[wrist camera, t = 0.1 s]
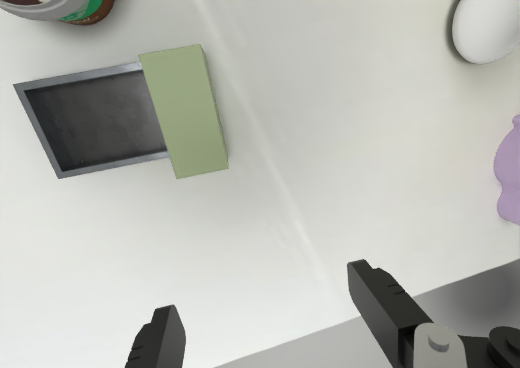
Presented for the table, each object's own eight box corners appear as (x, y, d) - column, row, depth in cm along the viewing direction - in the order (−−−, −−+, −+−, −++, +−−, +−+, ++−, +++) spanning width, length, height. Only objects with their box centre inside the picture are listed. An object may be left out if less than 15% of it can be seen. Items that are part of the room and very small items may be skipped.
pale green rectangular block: (152, 61, 34) (135, 55, 27) (204, 52, 34) (200, 44, 27) (182, 164, 39) (174, 179, 32) (227, 155, 39) (228, 168, 32)
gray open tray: (33, 84, 33) (12, 84, 29) (155, 63, 34) (147, 60, 30) (73, 171, 37) (58, 179, 34) (180, 149, 38) (176, 155, 35)
